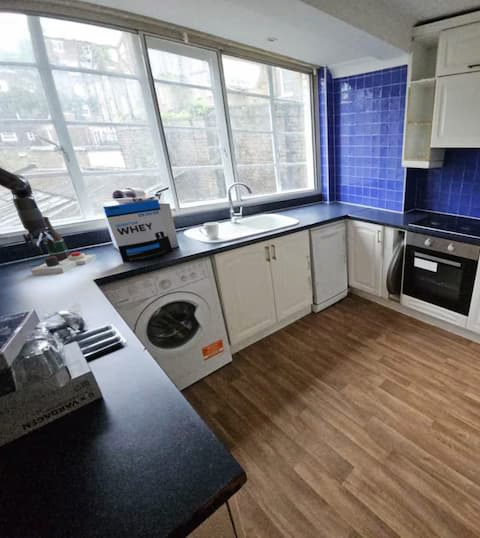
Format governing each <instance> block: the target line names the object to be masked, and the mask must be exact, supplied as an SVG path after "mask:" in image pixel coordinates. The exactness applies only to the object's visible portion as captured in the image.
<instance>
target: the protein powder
mask: <svg viewBox="0 0 480 538" xmlns="http://www.w3.org/2000/svg"><path fill="white" fill-rule="evenodd" d="M102 208H103V209H104V213H105V216H106V220H107V222H108V226H109V228H110V230H111V233H112V234H113V237H114V240H115V243H116V245H117V248H118V251H119V254H120V257H121V260H122V263H123V264H126V263H136V262H140V261H147V260H152V259H155V258H159V257H161V256H164V255H167V254H168V253H171V252H173V247H172V244H171V241H170V238H169V234H168V231H167V227H166V224H165V223H166V222H165V219H164V216H163V213H162V209H161V206H160V202H159V199H154V200H153V199H152V200H147V201H146V200H145V201H138V202H131V203H124V204H122V203H121V204H116V205H108V206H107V205H106V206H102Z"/></svg>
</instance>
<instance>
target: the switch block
mask: <svg viewBox="0 0 480 538" xmlns="http://www.w3.org/2000/svg"><path fill="white" fill-rule="evenodd" d="M80 254H81V255H79V256H75V257H72V255H71V254H70V256H68V258H67V259H65V260H63V261H74V260H75V262H76V264H77V266H80V265H87V264H89V263H91V262H93V261H94V260H96V259H98V257H97V254H95V253H94V254H85V253H83V252H80ZM63 261H60V262H63Z"/></svg>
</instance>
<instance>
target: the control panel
mask: <svg viewBox="0 0 480 538" xmlns="http://www.w3.org/2000/svg"><path fill="white" fill-rule="evenodd" d="M58 262H59V265H56V266H51V267H48V266H47V264H46V262H45V263H43V264H40V265H38V266H37V267H34V268H33V269H30V272H31V274H32V276H44V275H53V274H54V275H55V274H64V273H66V272H69V271H70V270H72V269H73V268H75V267H77V266H78V265H77V264H76V262H75V260H74V261H63V262H61V261H58Z"/></svg>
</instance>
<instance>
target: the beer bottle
mask: <svg viewBox="0 0 480 538" xmlns="http://www.w3.org/2000/svg"><path fill="white" fill-rule="evenodd" d="M43 218H44V220H45V223H46V225H47V227H51V228H52V230H53V232H54V234H55V236H56V238H54V240H53V241H54V244H55V247H56V248H49V245H48V243H47V241H46V240H45V239H42V241H43V244H44V246H45V248H46V250H47V253H48V255H49V257H51V256H56V257H57V260H58V262H61V261H63V260H65V259H67V258H68V256H70V255H71V253H70V252H69V249H68V247H67V245H66V242H65V240H64V238H63V236H62V235H61V234H60V233H59V232H57V231H56V230H55V228H54V227H53V225H52V223H51V221H50V220H49V217H48V216H43ZM50 235H51V234H50ZM51 236H52V235H51Z"/></svg>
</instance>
